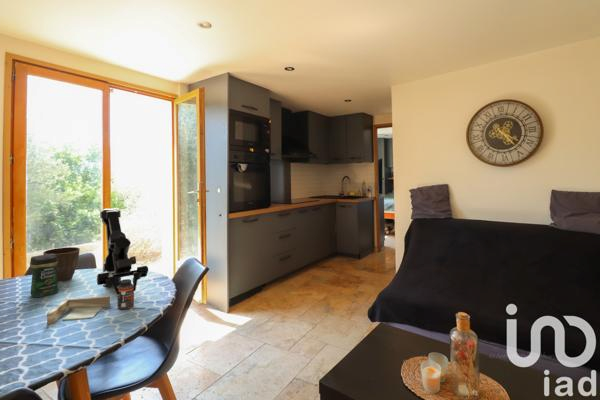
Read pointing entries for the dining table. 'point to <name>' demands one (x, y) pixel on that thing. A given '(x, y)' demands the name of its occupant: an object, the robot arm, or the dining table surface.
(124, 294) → the supplement bottle
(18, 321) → the dining table surface
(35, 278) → the coffee jar
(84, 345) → the dining table surface
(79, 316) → the arena
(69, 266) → the plant pot
